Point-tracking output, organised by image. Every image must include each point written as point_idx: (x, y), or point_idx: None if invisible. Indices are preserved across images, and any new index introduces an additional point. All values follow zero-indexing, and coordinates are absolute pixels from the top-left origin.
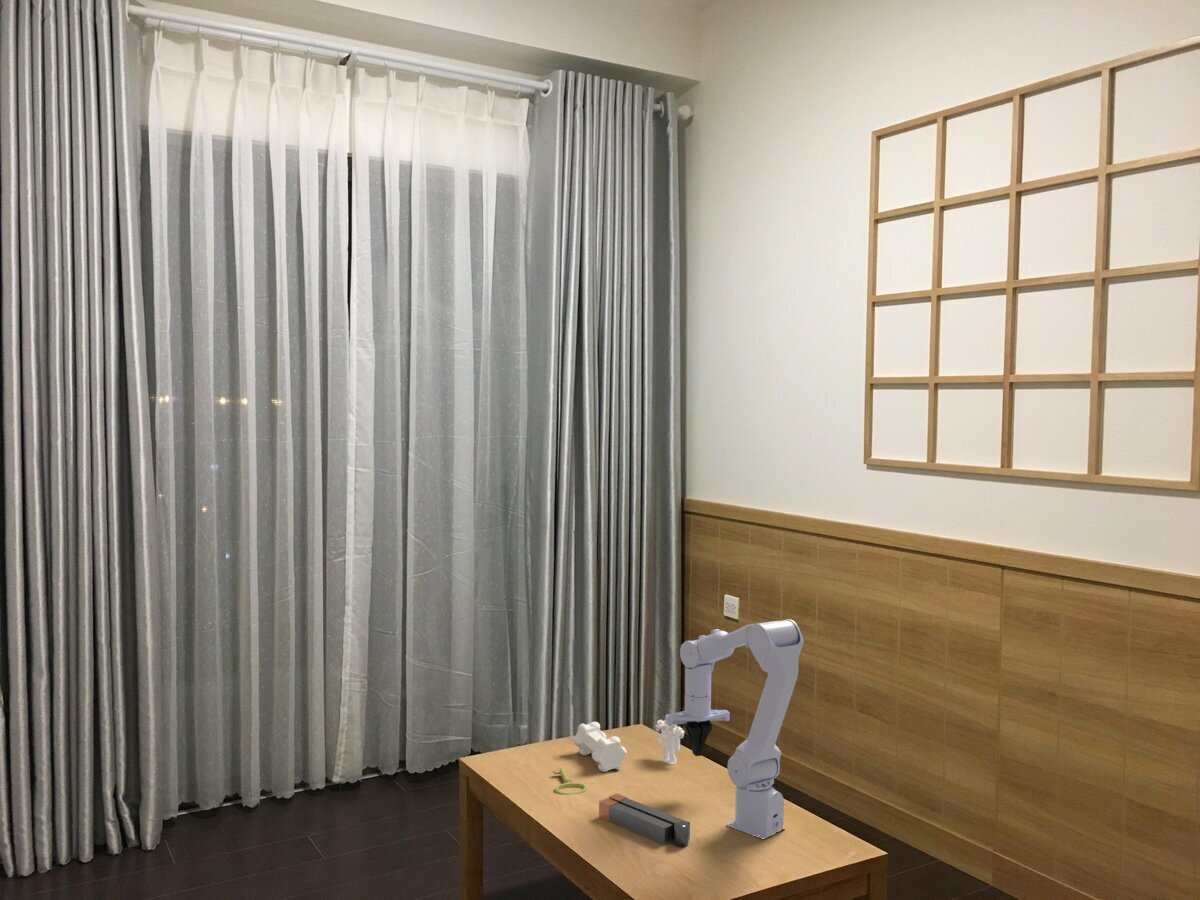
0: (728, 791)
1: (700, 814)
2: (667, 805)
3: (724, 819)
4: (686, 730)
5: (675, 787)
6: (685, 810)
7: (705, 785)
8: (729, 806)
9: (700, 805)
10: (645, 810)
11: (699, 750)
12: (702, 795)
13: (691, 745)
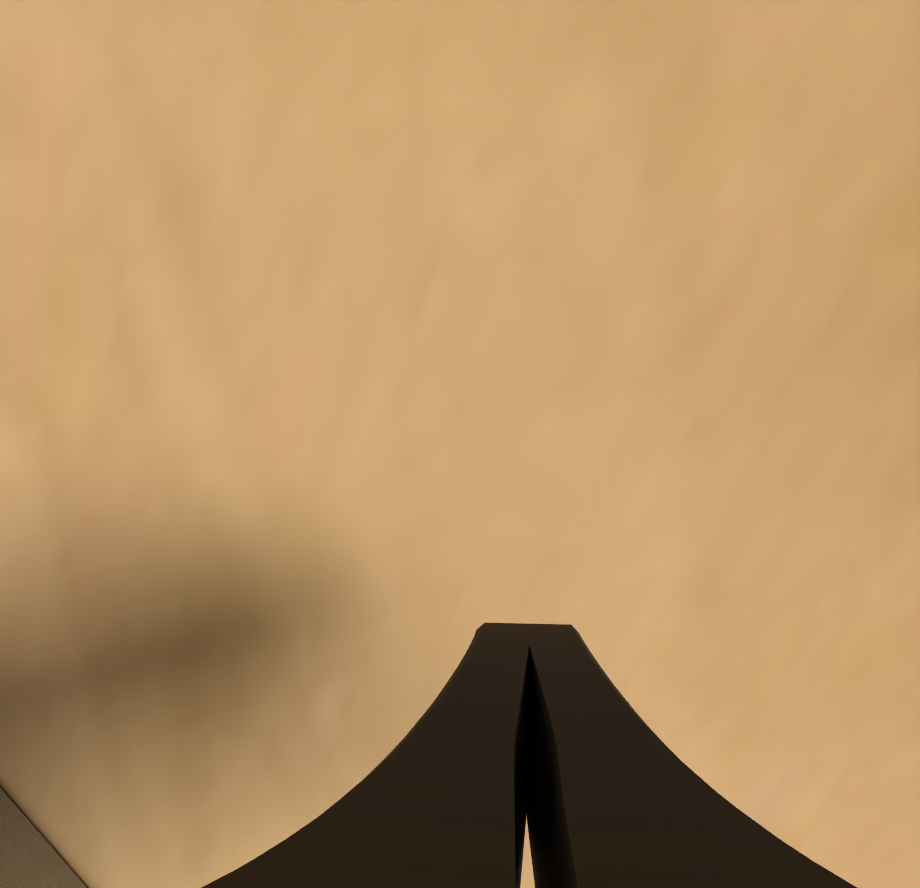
0: (848, 443)
1: None
2: (227, 576)
3: None
4: (296, 835)
5: (403, 233)
6: (338, 688)
7: (707, 256)
8: (698, 710)
9: None
10: None
11: (529, 833)
12: (579, 467)
13: (455, 672)
